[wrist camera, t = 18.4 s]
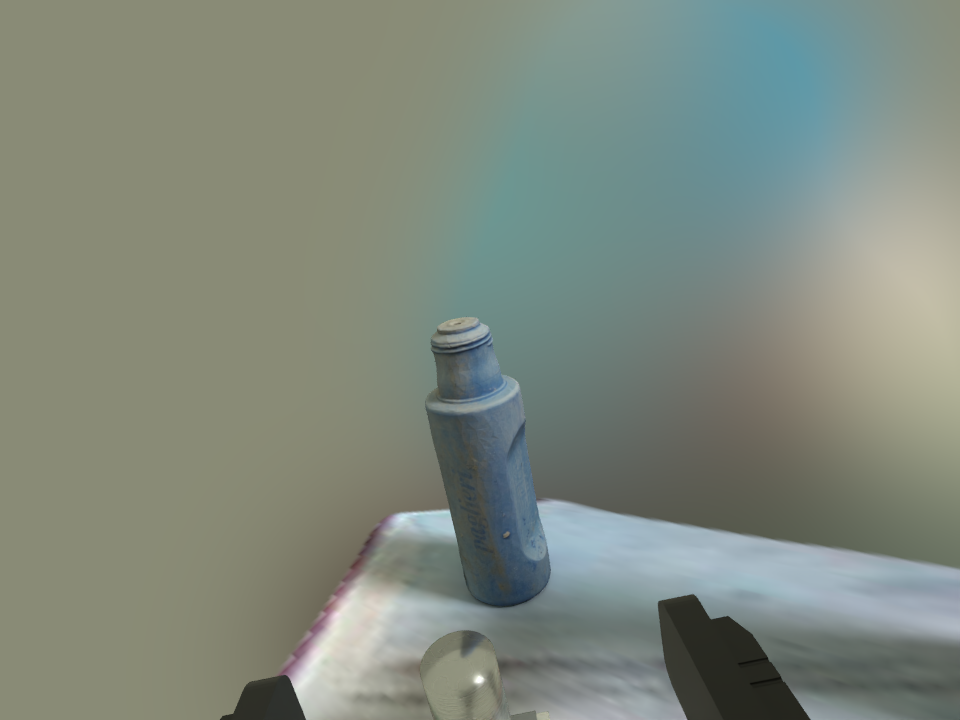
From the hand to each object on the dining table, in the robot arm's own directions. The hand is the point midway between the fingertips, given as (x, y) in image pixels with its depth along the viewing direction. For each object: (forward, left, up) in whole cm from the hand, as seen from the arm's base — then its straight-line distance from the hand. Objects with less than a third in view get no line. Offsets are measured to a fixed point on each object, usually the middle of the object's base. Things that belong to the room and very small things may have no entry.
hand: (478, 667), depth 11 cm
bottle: (+30, -29, -32) cm, 52 cm away
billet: (+16, -10, -31) cm, 36 cm away
